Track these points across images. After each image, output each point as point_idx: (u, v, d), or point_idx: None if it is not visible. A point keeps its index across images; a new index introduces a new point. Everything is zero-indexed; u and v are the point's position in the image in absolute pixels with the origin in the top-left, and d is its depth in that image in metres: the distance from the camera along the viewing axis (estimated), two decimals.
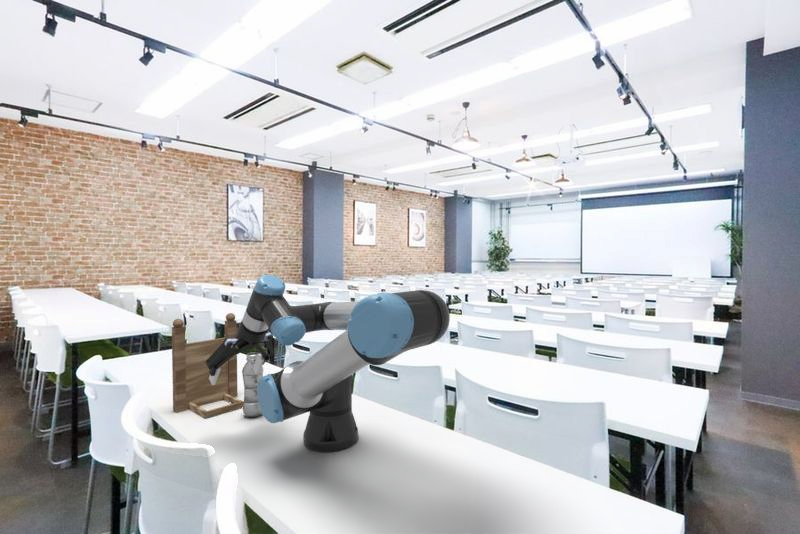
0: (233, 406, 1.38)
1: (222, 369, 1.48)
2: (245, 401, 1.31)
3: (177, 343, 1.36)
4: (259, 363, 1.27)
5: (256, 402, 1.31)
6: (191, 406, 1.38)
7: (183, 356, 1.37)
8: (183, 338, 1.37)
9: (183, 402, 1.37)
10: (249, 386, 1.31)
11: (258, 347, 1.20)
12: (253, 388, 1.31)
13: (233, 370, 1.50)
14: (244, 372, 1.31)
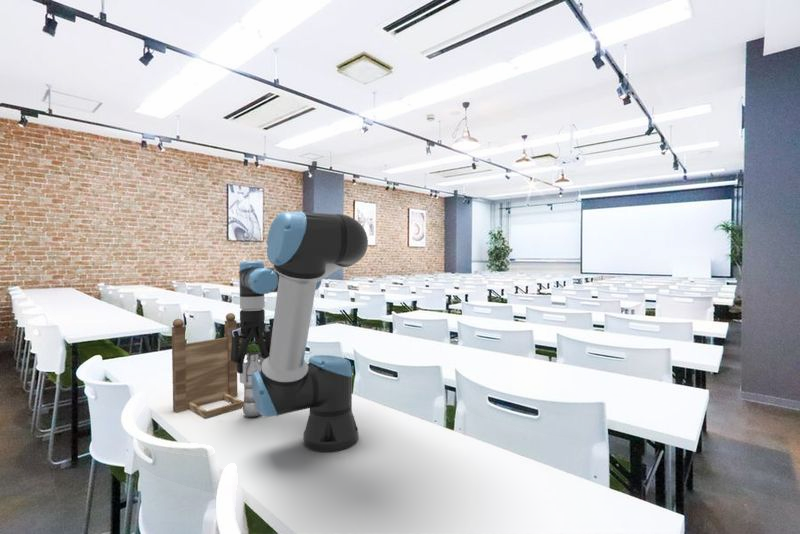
0: (233, 406, 1.38)
1: (222, 369, 1.48)
2: (245, 401, 1.31)
3: (177, 343, 1.36)
4: None
5: None
6: (191, 406, 1.38)
7: (183, 356, 1.37)
8: (183, 338, 1.37)
9: (183, 402, 1.37)
10: (249, 386, 1.31)
11: (261, 335, 1.33)
12: None
13: (233, 370, 1.50)
14: None
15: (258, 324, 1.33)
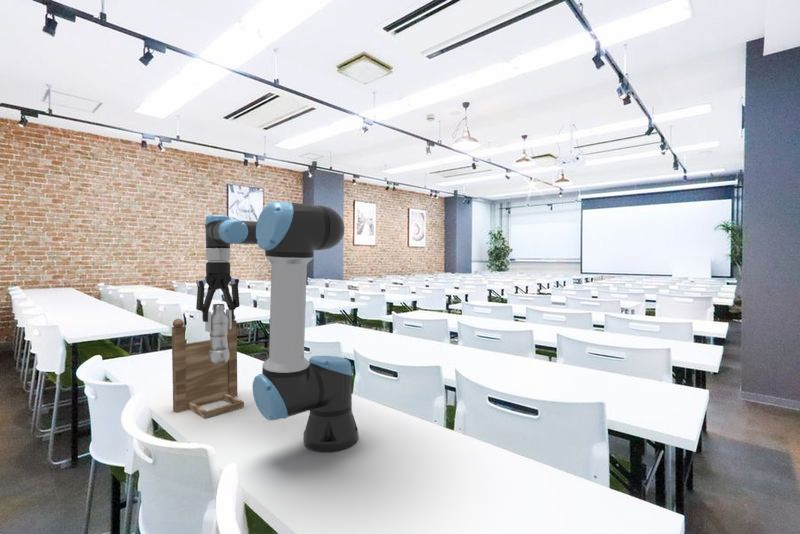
0: (233, 406, 1.38)
1: (222, 369, 1.48)
2: (210, 349, 1.37)
3: (177, 343, 1.36)
4: (228, 316, 1.41)
5: (221, 350, 1.37)
6: (191, 406, 1.38)
7: (183, 356, 1.37)
8: (183, 338, 1.37)
9: (183, 402, 1.37)
10: (214, 334, 1.37)
11: (226, 287, 1.39)
12: (218, 336, 1.37)
13: (233, 370, 1.50)
14: None
15: (224, 276, 1.39)
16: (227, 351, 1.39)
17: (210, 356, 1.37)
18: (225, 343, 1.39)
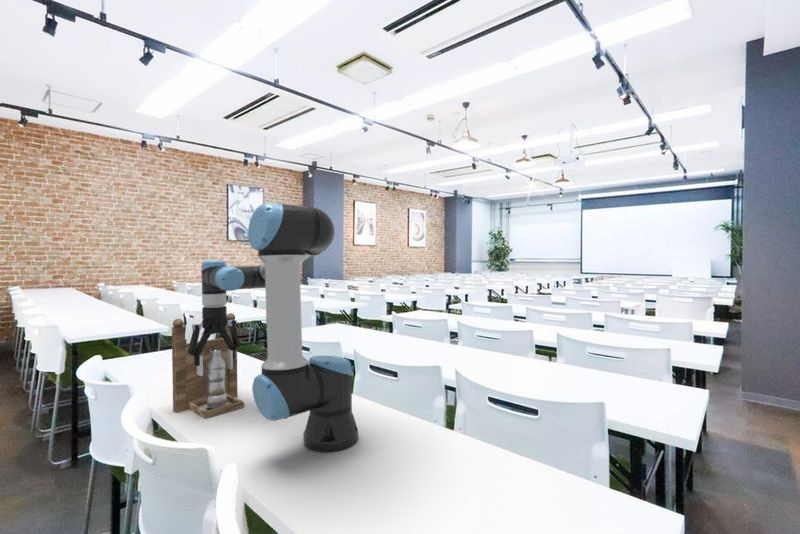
0: (233, 406, 1.38)
1: None
2: (208, 394, 1.38)
3: (177, 343, 1.36)
4: (229, 356, 1.43)
5: (218, 395, 1.38)
6: (191, 406, 1.38)
7: (183, 356, 1.37)
8: (183, 338, 1.37)
9: (183, 402, 1.37)
10: (211, 380, 1.38)
11: (224, 330, 1.40)
12: (215, 381, 1.38)
13: (233, 370, 1.50)
14: (207, 366, 1.37)
15: (220, 321, 1.40)
16: (224, 396, 1.40)
17: (207, 401, 1.37)
18: (222, 388, 1.39)
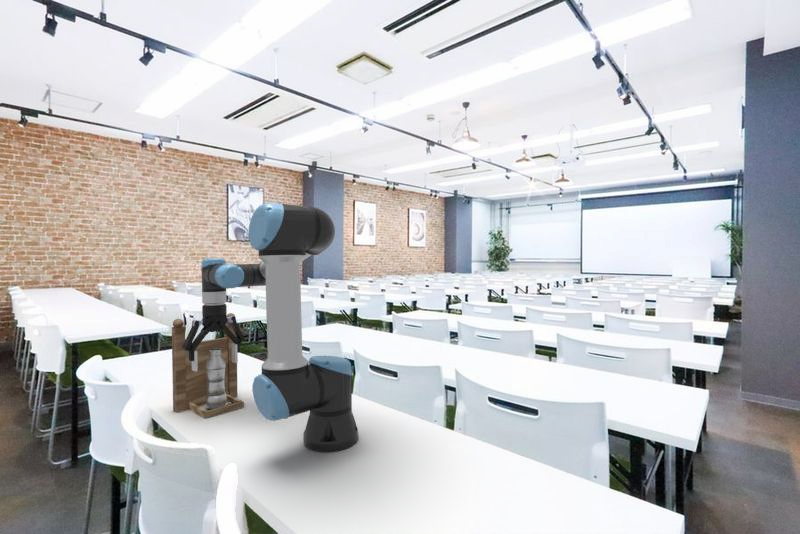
0: (233, 406, 1.38)
1: None
2: (207, 394, 1.38)
3: (177, 343, 1.36)
4: (234, 350, 1.44)
5: (218, 395, 1.38)
6: (191, 406, 1.38)
7: (183, 356, 1.37)
8: (183, 338, 1.37)
9: (183, 402, 1.37)
10: (211, 380, 1.37)
11: (225, 327, 1.40)
12: (215, 381, 1.38)
13: (233, 370, 1.50)
14: (206, 366, 1.37)
15: (220, 320, 1.40)
16: (224, 396, 1.40)
17: (207, 402, 1.37)
18: (222, 388, 1.39)
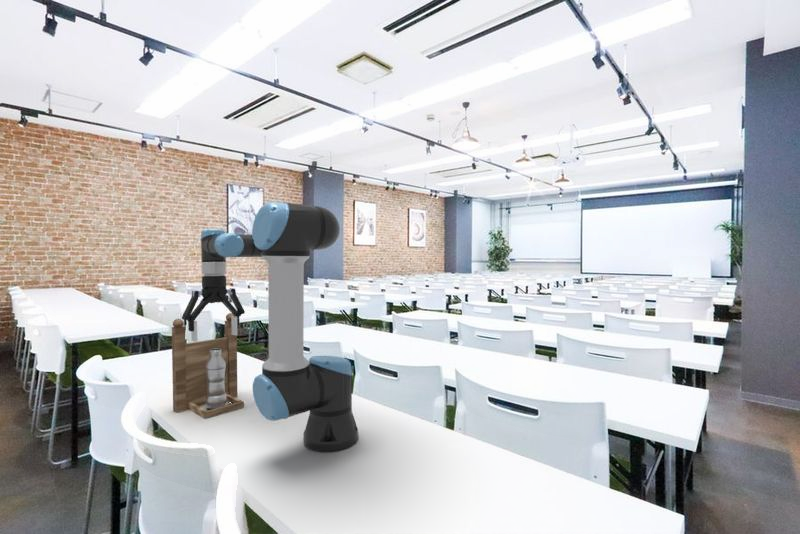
0: (233, 406, 1.38)
1: None
2: (208, 394, 1.38)
3: (177, 343, 1.36)
4: (234, 322, 1.44)
5: (218, 395, 1.38)
6: (191, 406, 1.38)
7: (183, 356, 1.37)
8: (183, 338, 1.37)
9: (183, 402, 1.37)
10: (211, 380, 1.37)
11: (225, 299, 1.40)
12: (215, 381, 1.38)
13: (233, 370, 1.50)
14: (206, 366, 1.37)
15: (219, 291, 1.39)
16: (224, 396, 1.40)
17: (207, 402, 1.37)
18: (222, 388, 1.39)
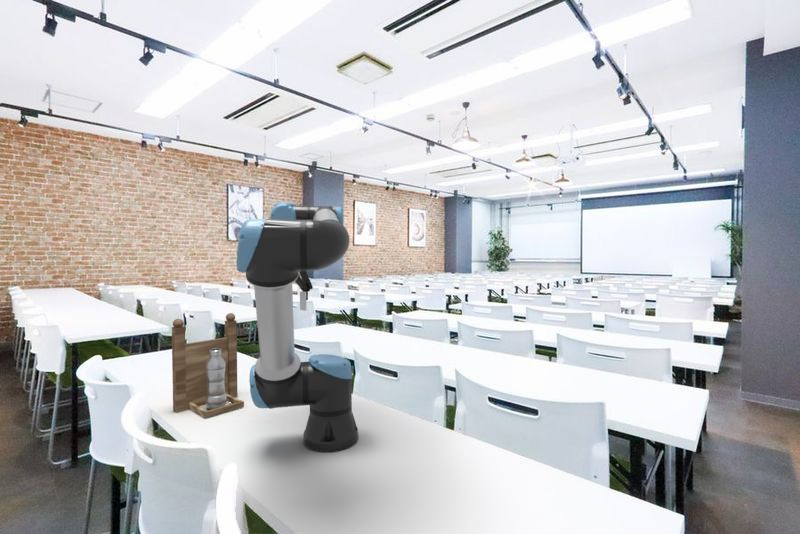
0: (233, 406, 1.38)
1: None
2: (208, 394, 1.38)
3: (177, 343, 1.36)
4: (303, 297, 1.43)
5: (218, 395, 1.38)
6: (191, 406, 1.38)
7: (183, 356, 1.37)
8: (183, 338, 1.37)
9: (183, 402, 1.37)
10: (211, 380, 1.37)
11: None
12: (215, 381, 1.38)
13: (233, 370, 1.50)
14: (206, 366, 1.37)
15: None
16: (224, 396, 1.40)
17: (207, 402, 1.37)
18: (222, 388, 1.39)
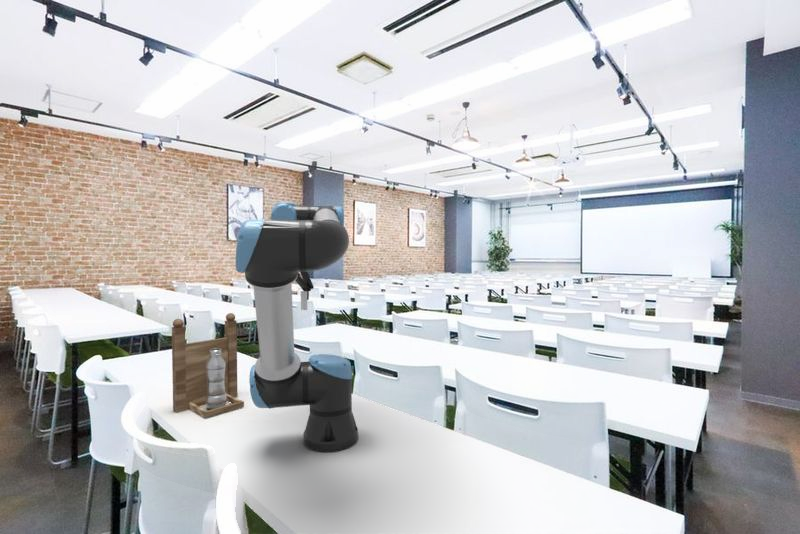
0: (233, 406, 1.38)
1: None
2: (207, 394, 1.38)
3: (177, 343, 1.36)
4: (304, 297, 1.43)
5: (218, 395, 1.38)
6: (191, 406, 1.38)
7: (183, 356, 1.37)
8: (183, 338, 1.37)
9: (183, 402, 1.37)
10: (211, 380, 1.37)
11: None
12: (215, 381, 1.38)
13: (233, 370, 1.50)
14: (206, 366, 1.37)
15: None
16: (224, 396, 1.40)
17: (207, 402, 1.37)
18: (222, 388, 1.39)
